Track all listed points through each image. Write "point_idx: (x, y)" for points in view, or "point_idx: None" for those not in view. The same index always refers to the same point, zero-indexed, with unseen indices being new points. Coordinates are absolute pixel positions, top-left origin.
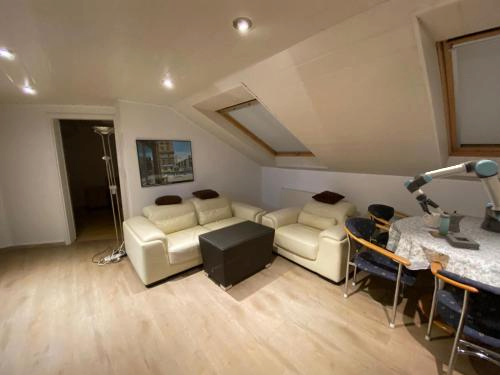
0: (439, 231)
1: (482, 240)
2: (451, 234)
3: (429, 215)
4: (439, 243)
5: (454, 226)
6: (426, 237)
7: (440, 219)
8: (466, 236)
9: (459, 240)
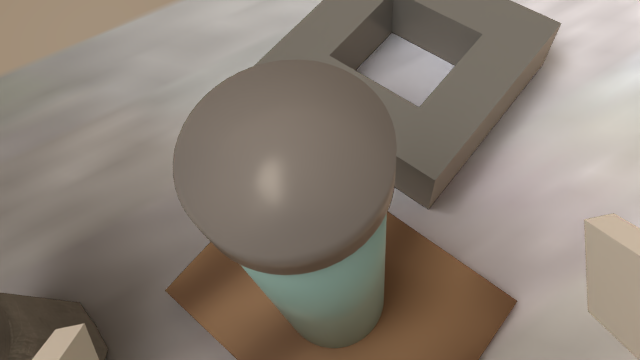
0: (378, 309)
1: (122, 88)
2: None
3: None
4: (613, 149)
5: (30, 315)
6: None
7: (368, 258)
8: None
9: None
